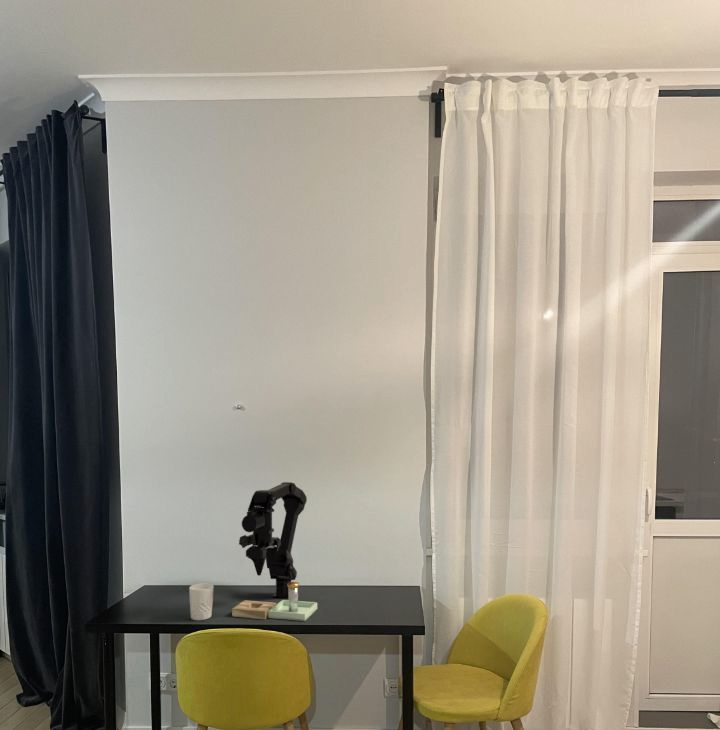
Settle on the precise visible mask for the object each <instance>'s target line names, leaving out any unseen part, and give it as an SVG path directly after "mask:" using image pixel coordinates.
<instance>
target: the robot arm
mask: <svg viewBox="0 0 720 730" xmlns="http://www.w3.org/2000/svg"><path fill="white" fill-rule="evenodd" d="M307 498H308V497H307V495H306V493H305V492H304V490H303V489H301V488H300V487H297V485H296V484H295V482H292V481H291V482H290V481H284V482H281V483H280V484H278V485H276V486H273V487H272V488H269V489H261V490H258V489H257V490H255V491H254V493H253V495H252V496H251V500H250V503H249V505H248V507H247V508H248V509H247V512H246V516H244V517H243V518H242V521H241V527H242V529H243V530H244V532H247V533H252V534H249V535H246V534H244V535H241V536H240V537H239V540H238V541H239V542H238V545H240V546H241V548H242V549H244V548H246V547H248V548H247V549H246V550H245V557H246V558H247V559H250V560H251V561H252V562H253V566H254V569H255V572H256V575H257V576H258V577H259V576H261V575H262V573H263V569H264V567H265V566H264V565H265V563H266V568H267V569H268V572H269V576H270V578H269V579H270V580H275V593H274V594H272V598H280V599H281V598H282V599H289V587H287V583H289V582H293V581H295V580H296V578H297V574H298V572H297V570H296V568H295V567H294V559H293V557H292V549H293V544H294V543H293V542H294V538H295V534H296V527H297V524H298V519H299V516H300V514H301V513H302V512H303V511H304V510H305V505H306V504H307V501H308V499H307ZM279 499H281V500H282V501H283V508H284V511H285V516H284V522H283V526H282V530H281V534H280V538H279V537H277V536H273V533H274V532H275V528H273V513H274V512H275V509H274V508H273V507H274V506H275V505H276V504H277V501H278V500H279Z"/></svg>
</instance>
